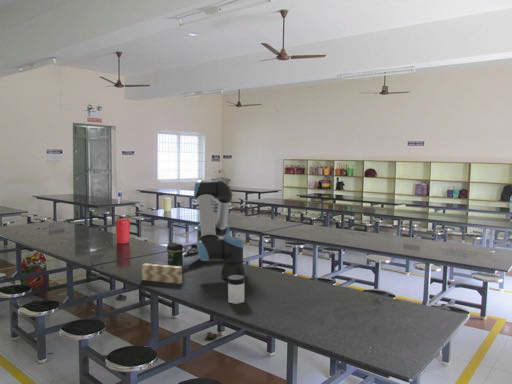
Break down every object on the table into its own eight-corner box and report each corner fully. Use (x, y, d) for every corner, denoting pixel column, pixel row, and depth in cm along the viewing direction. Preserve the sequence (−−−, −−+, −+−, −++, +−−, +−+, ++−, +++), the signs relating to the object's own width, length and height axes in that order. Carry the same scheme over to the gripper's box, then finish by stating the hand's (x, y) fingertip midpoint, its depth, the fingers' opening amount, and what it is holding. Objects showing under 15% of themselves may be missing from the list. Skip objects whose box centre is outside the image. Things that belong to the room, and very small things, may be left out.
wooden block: (182, 282, 231) (182, 266, 230) (179, 283, 228) (179, 268, 227) (145, 278, 238) (144, 263, 237) (142, 279, 235) (141, 264, 234)
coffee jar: (185, 273, 248) (185, 243, 246) (174, 276, 242) (174, 245, 240) (176, 270, 255) (175, 240, 253) (165, 272, 249) (164, 243, 247)
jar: (224, 301, 201) (224, 277, 200) (233, 296, 208) (233, 273, 207) (239, 305, 196) (239, 280, 195) (248, 299, 203) (248, 276, 202)
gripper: (206, 254, 276) (190, 263, 254) (188, 253, 280) (171, 262, 257) (206, 243, 275) (190, 251, 253) (188, 242, 279) (171, 250, 257)
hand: (181, 257), depth 255 cm, fingers closed
